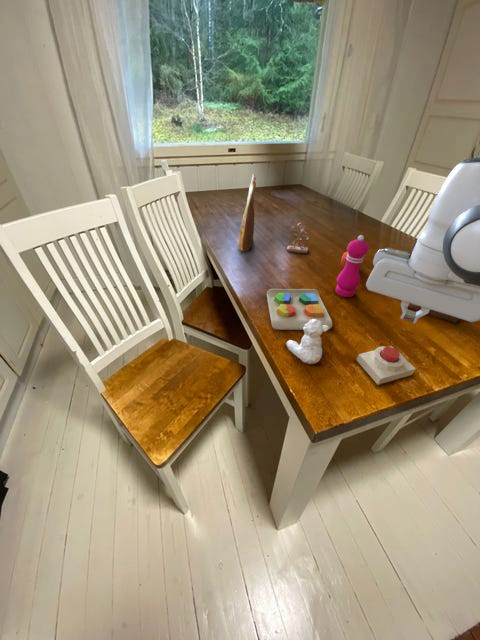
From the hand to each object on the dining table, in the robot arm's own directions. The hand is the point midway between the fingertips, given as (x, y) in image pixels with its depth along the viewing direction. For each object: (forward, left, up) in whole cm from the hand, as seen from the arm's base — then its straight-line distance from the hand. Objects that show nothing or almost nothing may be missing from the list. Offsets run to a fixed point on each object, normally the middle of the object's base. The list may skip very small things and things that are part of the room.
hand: (408, 319), depth 57 cm
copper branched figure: (+47, -49, -15) cm, 70 cm away
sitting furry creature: (+17, +7, -15) cm, 24 cm away
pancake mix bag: (+68, -41, -15) cm, 81 cm away
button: (0, 0, -12) cm, 12 cm away
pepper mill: (+19, -28, -15) cm, 37 cm away
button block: (0, 0, -15) cm, 15 cm away
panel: (-6, -37, -15) cm, 40 cm away
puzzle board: (+28, -9, -15) cm, 33 cm away
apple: (+23, -46, -15) cm, 54 cm away
